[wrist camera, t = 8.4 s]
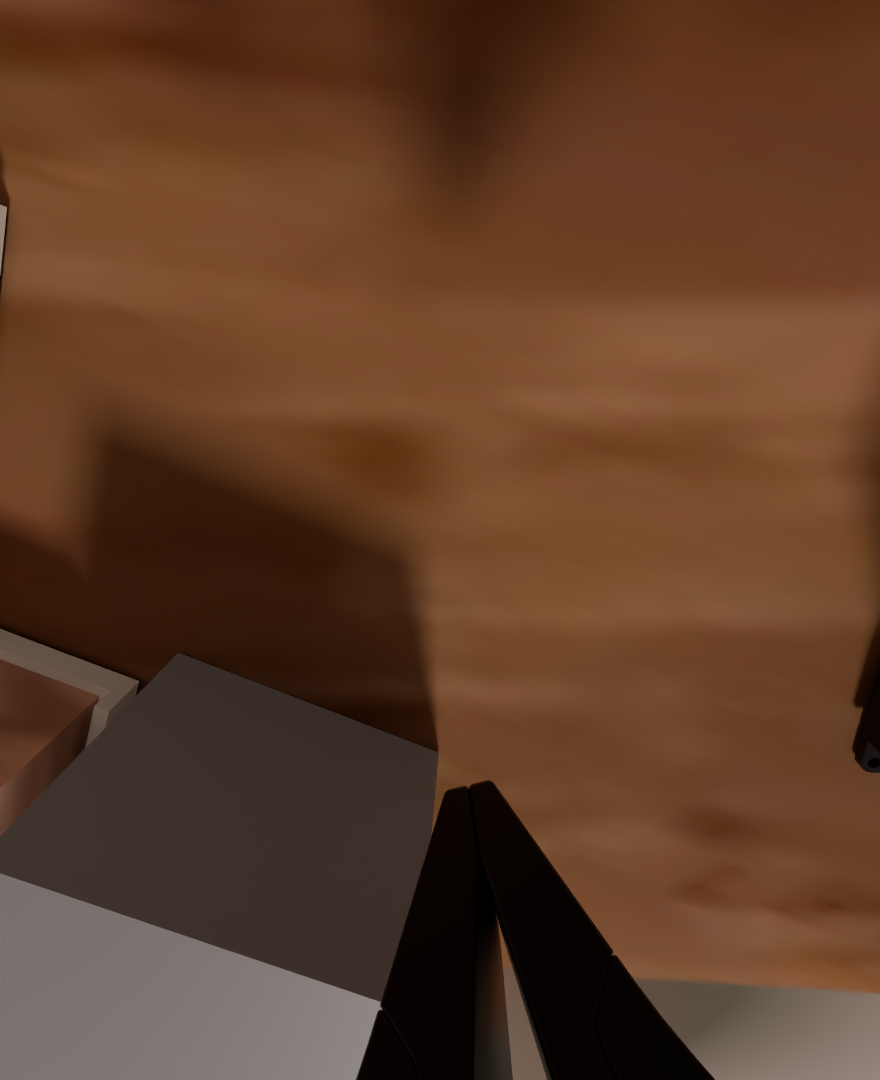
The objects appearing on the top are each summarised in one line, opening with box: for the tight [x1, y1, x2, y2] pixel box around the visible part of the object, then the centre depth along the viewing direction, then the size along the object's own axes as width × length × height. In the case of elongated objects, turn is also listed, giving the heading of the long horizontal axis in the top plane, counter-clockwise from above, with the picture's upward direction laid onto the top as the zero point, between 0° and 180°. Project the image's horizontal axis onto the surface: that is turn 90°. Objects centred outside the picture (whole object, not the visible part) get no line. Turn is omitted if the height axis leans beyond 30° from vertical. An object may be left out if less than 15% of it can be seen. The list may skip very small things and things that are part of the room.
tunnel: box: [0, 653, 439, 1080], centre depth 20 cm, size 12×10×10 cm
